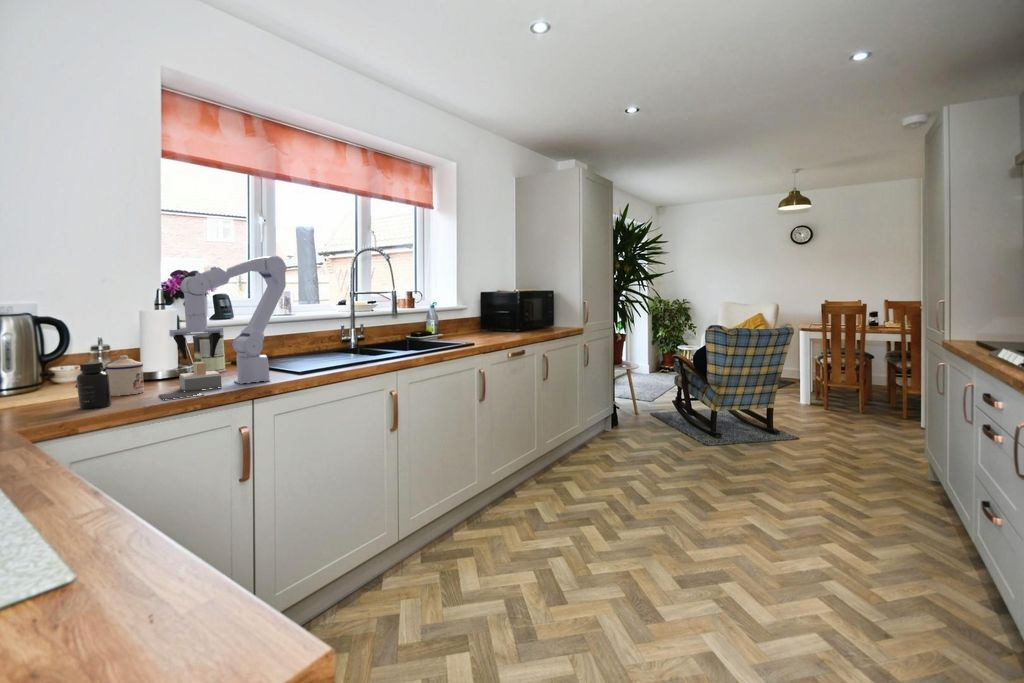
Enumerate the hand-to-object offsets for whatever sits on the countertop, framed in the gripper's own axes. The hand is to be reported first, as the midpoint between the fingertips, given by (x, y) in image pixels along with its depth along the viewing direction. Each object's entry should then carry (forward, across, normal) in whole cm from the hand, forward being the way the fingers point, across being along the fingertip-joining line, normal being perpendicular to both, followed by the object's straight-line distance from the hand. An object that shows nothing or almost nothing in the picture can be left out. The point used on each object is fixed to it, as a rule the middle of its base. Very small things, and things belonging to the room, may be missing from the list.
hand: (198, 357), depth 166 cm
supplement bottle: (+10, -27, -10) cm, 30 cm away
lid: (+6, 0, 0) cm, 6 cm away
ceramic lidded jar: (+10, -18, +8) cm, 22 cm away
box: (+10, 0, 0) cm, 10 cm away
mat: (+10, -7, -9) cm, 15 cm away
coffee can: (+10, +11, +38) cm, 41 cm away
